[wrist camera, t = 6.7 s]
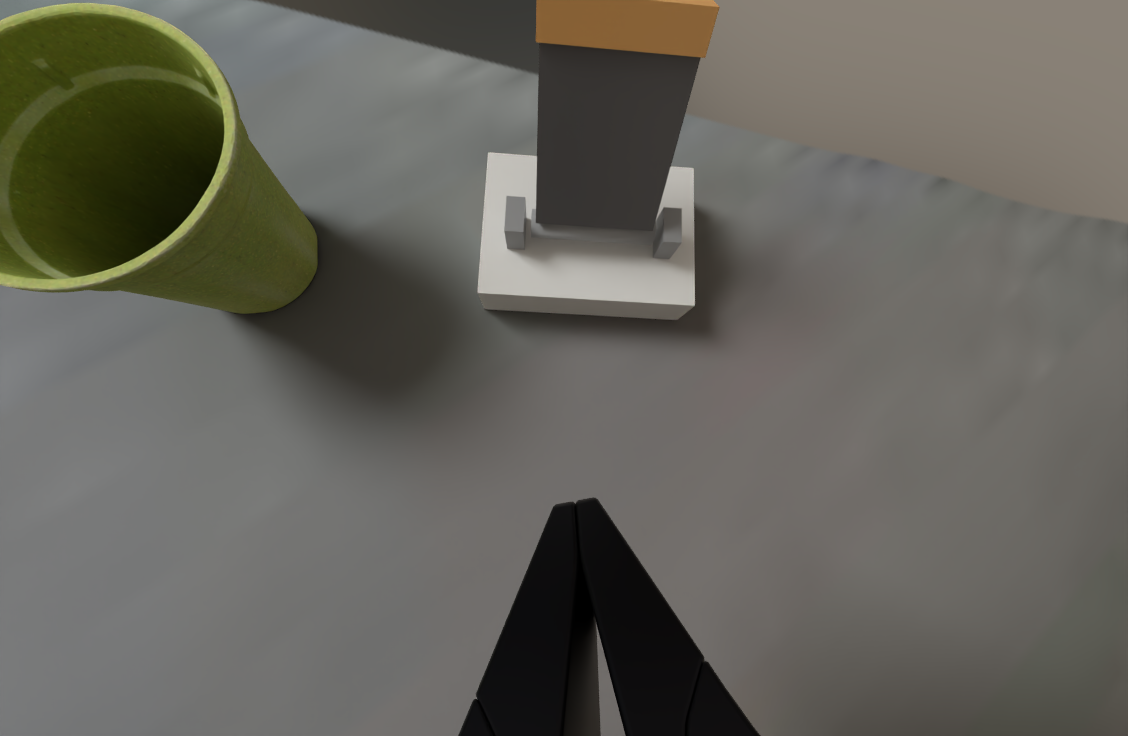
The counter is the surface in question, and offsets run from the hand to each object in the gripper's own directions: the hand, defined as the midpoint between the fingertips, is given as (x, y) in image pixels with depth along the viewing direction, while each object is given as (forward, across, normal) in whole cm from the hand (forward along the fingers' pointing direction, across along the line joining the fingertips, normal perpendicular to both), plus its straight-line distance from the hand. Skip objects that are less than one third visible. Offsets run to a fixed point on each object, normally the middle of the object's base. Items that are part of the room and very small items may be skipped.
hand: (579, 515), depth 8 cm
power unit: (+16, -2, 0) cm, 16 cm away
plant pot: (+16, +14, -4) cm, 22 cm away
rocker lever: (+13, -2, -2) cm, 14 cm away
